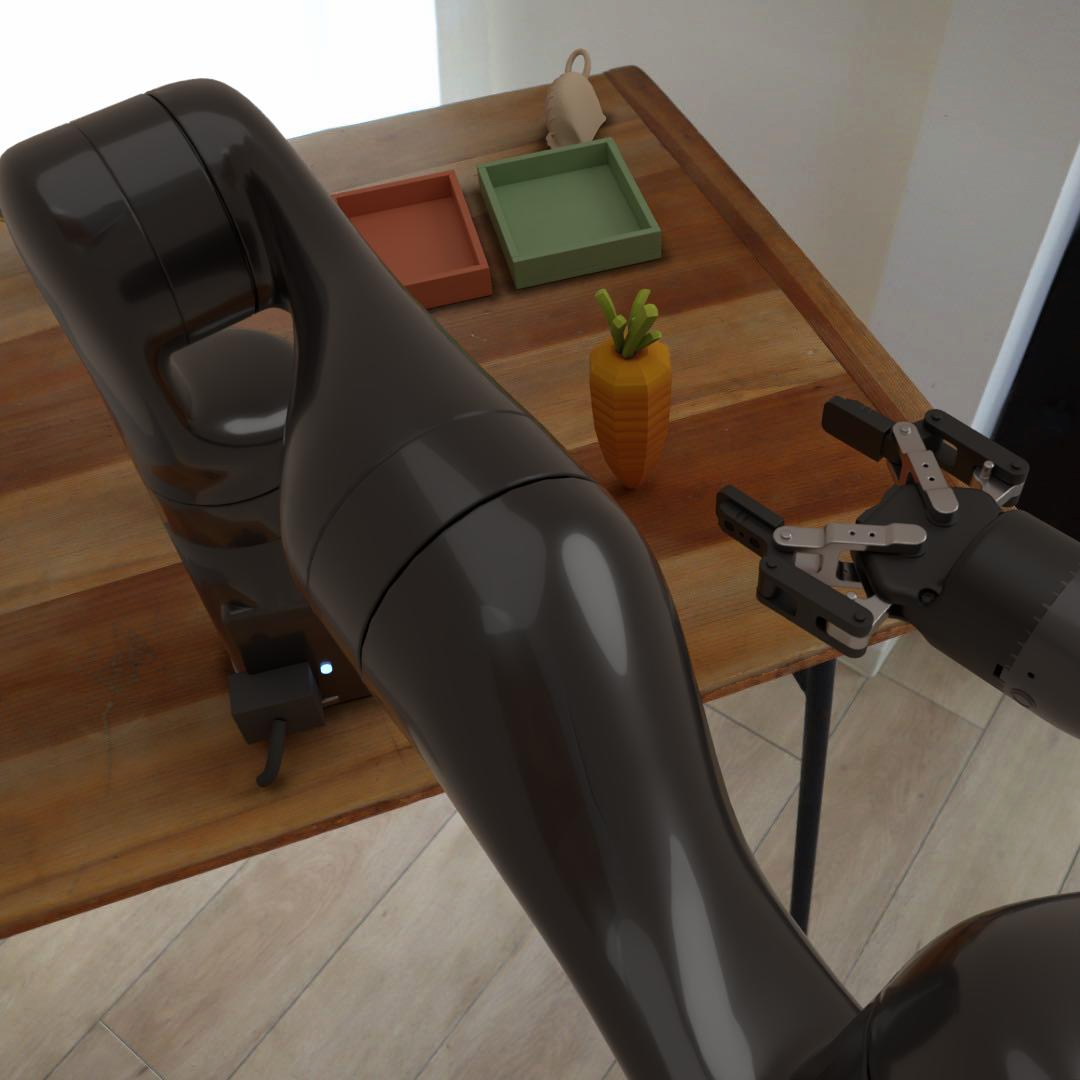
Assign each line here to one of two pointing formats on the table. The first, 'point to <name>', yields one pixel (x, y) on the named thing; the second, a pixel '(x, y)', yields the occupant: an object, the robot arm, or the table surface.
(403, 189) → the terracotta tray
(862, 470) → the table surface
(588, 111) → the decorative ornament
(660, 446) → the carrot
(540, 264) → the green tray
